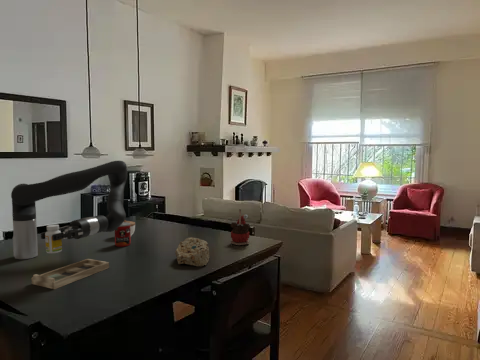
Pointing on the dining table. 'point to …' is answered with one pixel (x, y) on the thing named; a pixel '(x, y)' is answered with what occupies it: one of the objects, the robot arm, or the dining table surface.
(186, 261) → the rock
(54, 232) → the supplement bottle
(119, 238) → the canned food
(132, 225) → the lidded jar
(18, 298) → the dining table surface
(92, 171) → the robot arm
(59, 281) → the wooden tray
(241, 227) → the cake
